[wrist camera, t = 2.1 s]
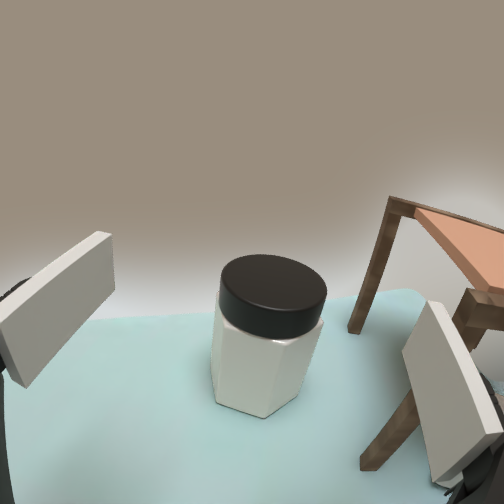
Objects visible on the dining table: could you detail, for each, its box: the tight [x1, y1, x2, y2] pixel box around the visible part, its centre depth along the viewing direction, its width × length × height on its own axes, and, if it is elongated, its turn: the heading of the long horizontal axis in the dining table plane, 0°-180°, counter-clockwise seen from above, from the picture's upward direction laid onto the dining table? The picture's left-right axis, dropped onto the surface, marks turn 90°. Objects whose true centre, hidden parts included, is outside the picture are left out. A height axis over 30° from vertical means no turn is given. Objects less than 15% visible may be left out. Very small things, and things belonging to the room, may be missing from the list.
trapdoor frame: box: [348, 196, 504, 471], centre depth 25 cm, size 21×21×18 cm
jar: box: [210, 254, 327, 418], centre depth 26 cm, size 9×8×12 cm
